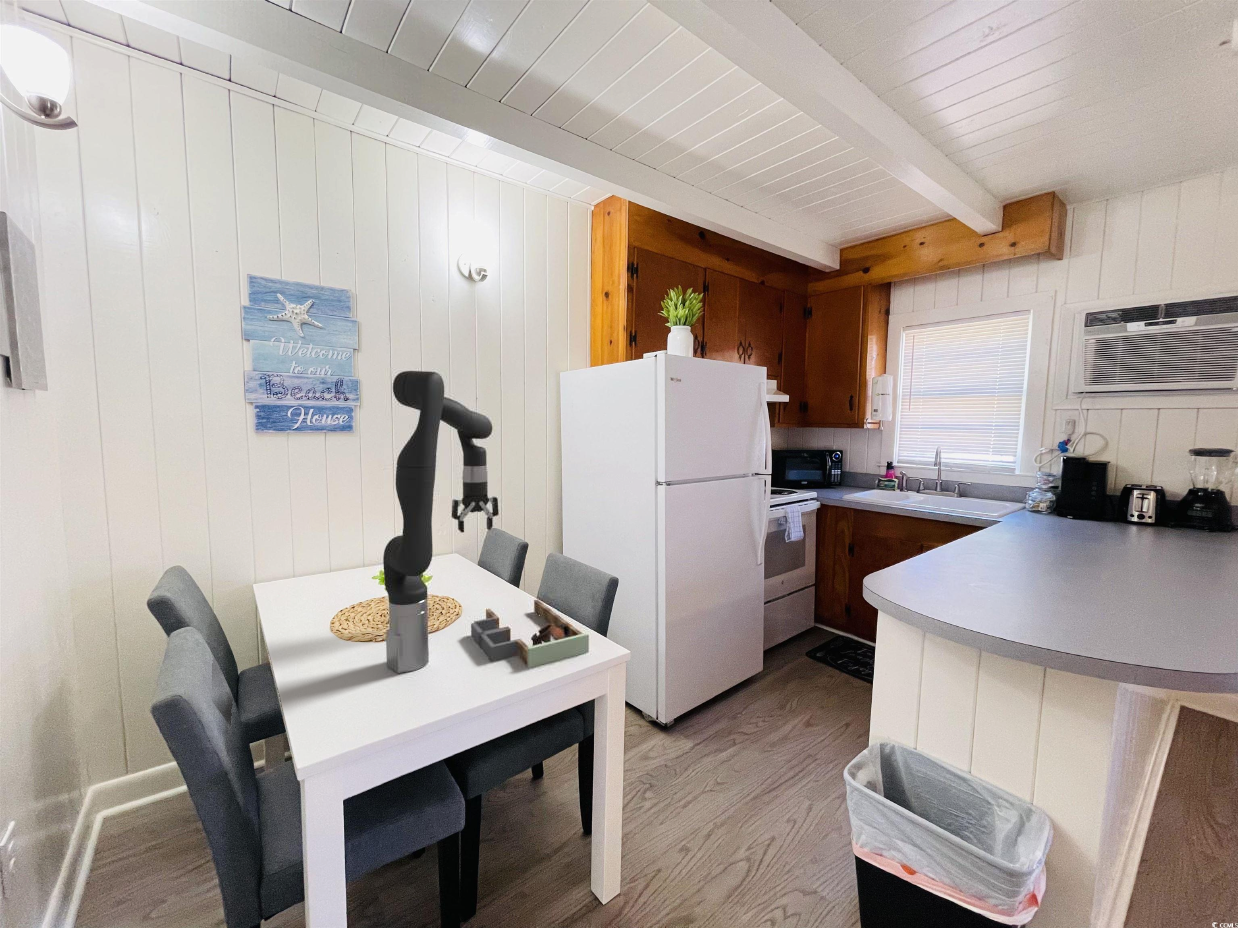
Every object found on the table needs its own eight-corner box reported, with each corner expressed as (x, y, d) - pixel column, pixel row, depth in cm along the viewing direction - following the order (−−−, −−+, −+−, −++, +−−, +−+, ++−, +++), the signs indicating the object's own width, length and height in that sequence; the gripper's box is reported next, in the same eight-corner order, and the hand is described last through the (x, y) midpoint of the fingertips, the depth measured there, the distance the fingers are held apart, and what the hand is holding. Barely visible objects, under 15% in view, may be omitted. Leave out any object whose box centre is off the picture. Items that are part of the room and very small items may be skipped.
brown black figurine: (558, 664, 133) (542, 637, 133) (536, 669, 139) (521, 643, 139) (584, 637, 143) (569, 611, 143) (562, 642, 148) (548, 618, 148)
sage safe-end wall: (588, 652, 139) (588, 634, 139) (529, 667, 130) (529, 648, 129) (586, 650, 140) (586, 632, 140) (527, 665, 131) (527, 647, 130)
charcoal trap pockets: (517, 655, 136) (517, 641, 136) (491, 661, 133) (491, 647, 132) (493, 630, 153) (493, 617, 152) (470, 635, 149) (469, 622, 149)
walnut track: (586, 650, 140) (586, 636, 140) (527, 665, 131) (527, 650, 130) (537, 611, 168) (537, 599, 168) (486, 621, 159) (485, 609, 159)
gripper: (455, 482, 152) (456, 535, 154) (501, 480, 160) (501, 530, 161) (448, 479, 159) (449, 530, 160) (493, 477, 166) (493, 526, 168)
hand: (475, 530), depth 161 cm, fingers open, 8 cm apart
